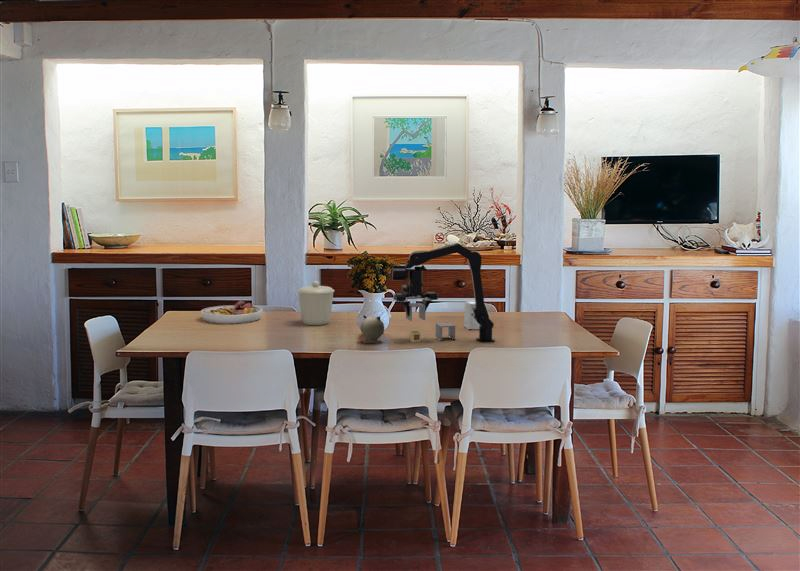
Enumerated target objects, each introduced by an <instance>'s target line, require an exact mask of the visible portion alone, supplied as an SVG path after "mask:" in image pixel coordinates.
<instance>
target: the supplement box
mask: <svg viewBox="0 0 800 571" xmlns="http://www.w3.org/2000/svg"><path fill="white" fill-rule="evenodd" d="M472 307H475V300H474V301H473V300H472V301H471V300H469V301H465V302H464V327H463V328H465V327H466V329H467V328H468V329H467V330H469V329H471V330H479V326H480V325H479V323H478V322H477V321H476V320H475V319H474V317H473V311H472Z"/></svg>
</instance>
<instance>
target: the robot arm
mask: <svg viewBox="0 0 800 571" xmlns="http://www.w3.org/2000/svg"><path fill="white" fill-rule="evenodd" d="M453 254H459V255H461V256H462V257H464V258H465V259H466V260H467V264H468V267H469V269H470V273H471V280H472V286H473V287H472V288H473V295H474V301H475V307H472V311H473V317H474V319H475V320H476V321H477V322H478V323H479V325H480V326H479V329H478V330H479V331H478V337H476V340H477V341H479V340H480V341H479V342H481V343H485V341H489V342H495V341H496V339H494V338H493V328H494V325H495V323H494V322H493V321H492V320H491V318H490V317H489V316H490V315H489V312H488V310H487V307H486V304H485V298H484V292H483V284H482V283H483V281H482V276H481V275H482V274H481V269H482V255H481V254H480V252H478V251H477V250H470V249H469V248H467V247H466V246H464V245H462V244H461V243H459V242H454V243H453V244H450V245H445V246H441V247H438V248H434V249H430V250H418V251H417V250H415V251H413V252H411V253H410V254H409V258H408V261H407V262H405V265H403V264H401V265H400V264H399V265H398V264H393V265H392V272H391V273H392V274H391V275H392V276H391V277H392V278H391V279H392V281H395V282H397V281H398V282H400V281H401V282H402V281H403V282H404V281H406V280H407V279H408V278H409V280H408V285H407V284H401V288H400V289H401V292H398V293H396V292H395V293H394V294H393V300H394V301H395V302H400V303H402V306H403V308H404V311H405V315H406V314H407V316H408V317H409V303H410V301H408V300H410V299H411V300H415V299H422V300H421V301H422V304H424V305H425V313H426V312H427V309H428V308H429V305H430V303H432V302H433V301H435V300H436V301H437V300H438V299H439V298H438V297H439V295H438V293H437V292H435V291H426V292H425V293H423V286H424V283H423V271H425V272H426V271H427V270H428V269H427V267H426V266H425V265H424V264H426V263H427V262H429V261H431V260H433V259H438V258H441V257H445V256H450V255H453ZM413 267H414V268H413Z"/></svg>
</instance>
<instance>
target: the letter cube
mask: <svg viewBox="0 0 800 571" xmlns="http://www.w3.org/2000/svg"><path fill="white" fill-rule="evenodd" d="M409 341H411V343H415V342H417V343H418V342H422V331H421V332H420V330H409Z"/></svg>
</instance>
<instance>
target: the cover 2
mask: <svg viewBox="0 0 800 571" xmlns="http://www.w3.org/2000/svg"><path fill="white" fill-rule="evenodd" d="M443 328H448V335H447V336H450V337H451V338H453V339H455V340H456V325H455V324H453V323H451V322H440V323H435V338H436V337H437V338H438V339H440V340H442V341H443ZM437 338H436V339H437ZM451 338H450V339H451ZM438 339H437V340H438ZM453 339H452V340H453ZM440 340H439V341H440Z"/></svg>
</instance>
